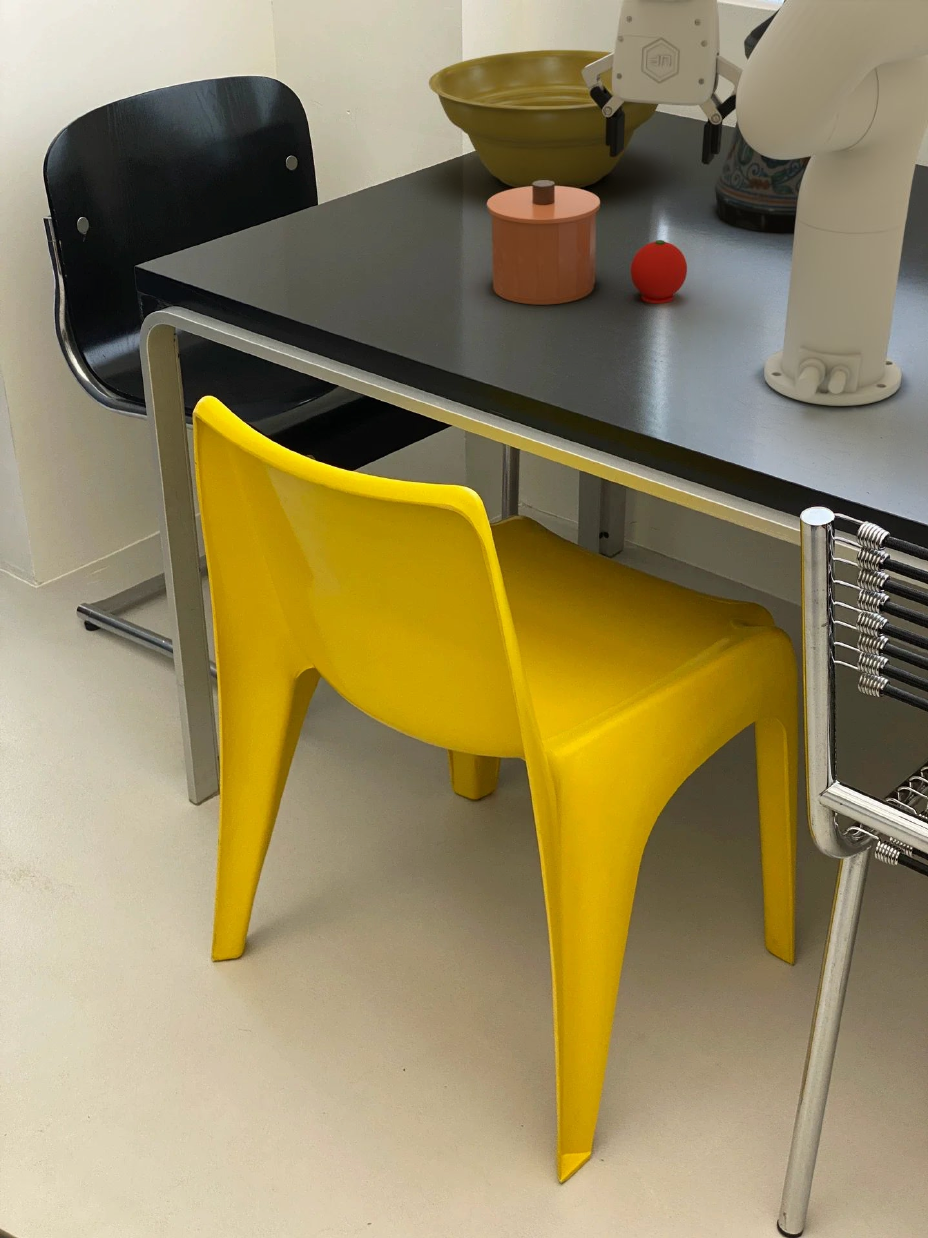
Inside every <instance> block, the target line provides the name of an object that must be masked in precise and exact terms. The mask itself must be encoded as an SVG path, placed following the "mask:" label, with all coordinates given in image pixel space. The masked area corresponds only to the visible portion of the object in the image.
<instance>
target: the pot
mask: <svg viewBox="0 0 928 1238" xmlns="http://www.w3.org/2000/svg"><path fill="white" fill-rule="evenodd" d="M490 215H491V217H490V218H491V257H492V258H491V259H492V261H491V262H492V287H493V291H494V293H495V294H496V295H497V296H499V297H501V298H502V299H504V300H507V301H510V302H513V303H519V304H524V305H536V306H537V305H538V306H539V305H540V306H541V305H543V306H544V305H546V306H547V305H557V304H558V305H559V304H567V303H570V302H575V301H577V300H580V299H583V298H585V297H587V296H588V295H590V294H591V293H592V292H593V291H594V288H595V284H596V246H597V245H596V244H597V239H596V238H597V237H596V236H597V212H596V213H594V214H592V215H590V216H588V217H585V218H582V219H579V220H575V221H569V222H563V223H552V224H530V223H519V222H512V221H508V220H504V219H501V218H498V217H496V216H494V215H492V214H491V213H490Z"/></svg>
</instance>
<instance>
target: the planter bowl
mask: <svg viewBox="0 0 928 1238" xmlns="http://www.w3.org/2000/svg"><path fill="white" fill-rule="evenodd" d="M612 53H614V51H602V50H586V49H585V50H584V49H541V50H527V51H516V52H515V51H514V52H505V53H499V54H492V55H486V56H481V57H476V58H471V59H467V60H464V61H463V60H462V61H460V62H457V63H453V64H452V65H449V66H446V67H444V68H442V69H440V70H439V71H437V72H436V73H434V74H432V76H431V77H430V78H429V79H428V86H429V88H430V90H432V92H434V93H435V94H437V96H438V99H439V102H440V104H441V107H442V109H443V111H444V113H445V115H446V117H447V118H448V120H449V121H450V123H452V124H453V125H454V126H456V127H458V128H459V129H460V130H461V131H462V132H464V133H465V134H467V136H468V139H469V141H470V143H471V145H472V146H473V149H474V150H475V152H476V154H477V156H478V158H479V159H480V161H481V162H482V163H483V165H484V167H485V168H486V169H487V171H488V172H489V173H490V175H492V176H494V177H495V178H496V179H499V180H500V181H501V182H502V183H503V184H505V185H507V186H510V187H512V188H521V187H529V186H532V183H533V182H535V181H539V180H549V181H553V182H554V183H555V186H564V187H572V188H577V189H581V188H584V187H587V186H590V185H593V184H596V183H597V182H599V181H600V180H601V179H603V178H604V177H606V175H608V174H610V172H612V171H613V170H614V169H615V167H616V166H617V164H618V162H619V161H620V160H621V158H622V156H623V154H624V153H625V151H626V149H627V147H628V146H629V143H630V141H631V139H632V137H633V134H634V133H635V131H636V130H637V129H638V128H640V126H642V125H643V124H645V123H646V122H648V120H650V119H651V118H652V117H653V115H654V114H655V112H656V111H657V109H658V107H659V104H651V103H637V102H628V101H625V102H624V104H623V105H622V106H621V107H622V110H623V111H624V113H625V131H624V149H623V150H622V151H621V152H620V154H619V155H618V156H616V157H610V146H606V143H605V140H606V117H605V116H604V115H603V113H602V109H601V108H600V107H599V106H598V105H597V104H596V102H595V101H594V100H593V99H592V98H591V96H590V91H589V89H588V88H587V85H586V83H585V81H584V79H583V76H582V73H581V72H582V70H583V69H584V68H585V67H586V66H587V65H589V64H591V63H593V62H595V61H598V60H600V59H602V58H604V57H606V56H608V55H610V54H612ZM612 69H613V68H611V69H609V70H607V71H605V72H603V73H601V74H600V79H601V83H602V85H604V86H605V88H606V89H607V90H608V91H609V92H610V94H611V95H612V96H613V95H614V94H613V92H612Z"/></svg>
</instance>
